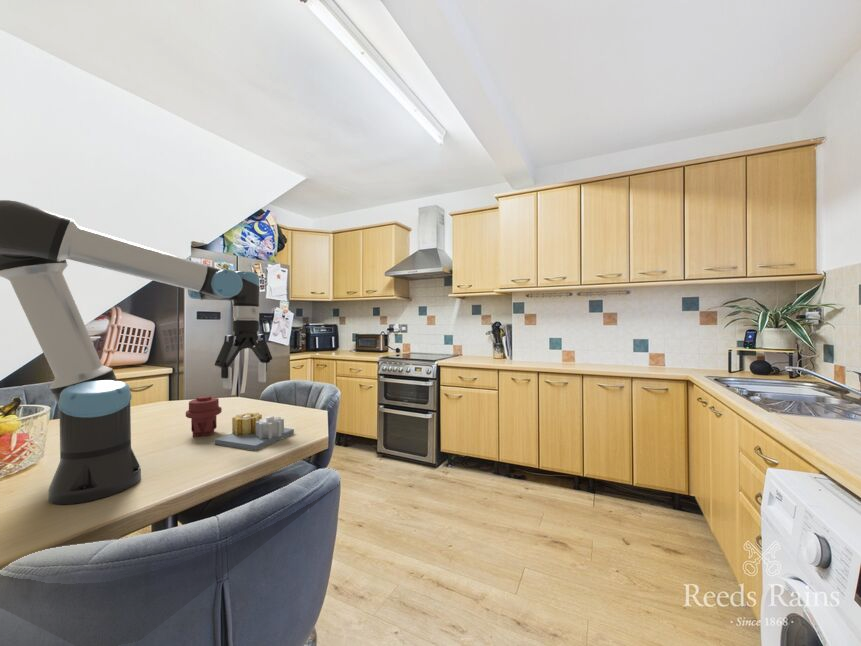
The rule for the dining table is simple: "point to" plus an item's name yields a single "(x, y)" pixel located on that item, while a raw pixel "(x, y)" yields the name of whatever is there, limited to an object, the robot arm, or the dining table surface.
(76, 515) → the dining table surface
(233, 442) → the gear board
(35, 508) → the dining table surface
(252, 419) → the brass gear
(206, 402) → the mechanical component
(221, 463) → the dining table surface
